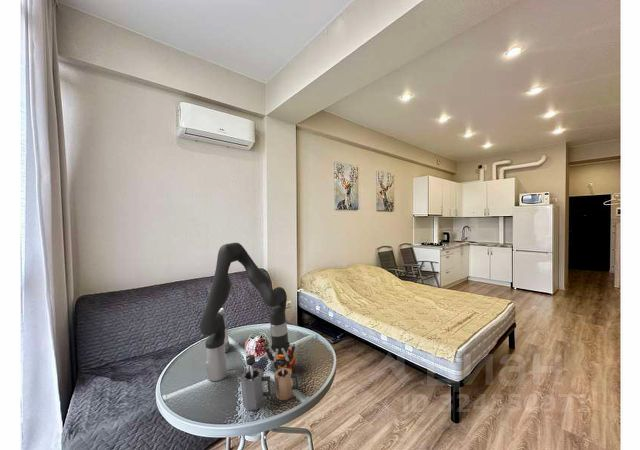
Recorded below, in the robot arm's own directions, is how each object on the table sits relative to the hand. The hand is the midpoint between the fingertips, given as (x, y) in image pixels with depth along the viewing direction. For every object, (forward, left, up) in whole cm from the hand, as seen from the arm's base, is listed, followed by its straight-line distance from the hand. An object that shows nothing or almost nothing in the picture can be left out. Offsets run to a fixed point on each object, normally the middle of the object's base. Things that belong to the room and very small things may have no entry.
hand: (282, 367), depth 118 cm
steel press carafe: (-11, -4, -13) cm, 17 cm away
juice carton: (-46, +44, -13) cm, 65 cm away
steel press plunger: (-13, -4, -10) cm, 17 cm away
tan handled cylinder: (+1, 0, -13) cm, 13 cm away
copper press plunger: (0, 0, -11) cm, 11 cm away
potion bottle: (-1, +18, -13) cm, 22 cm away
